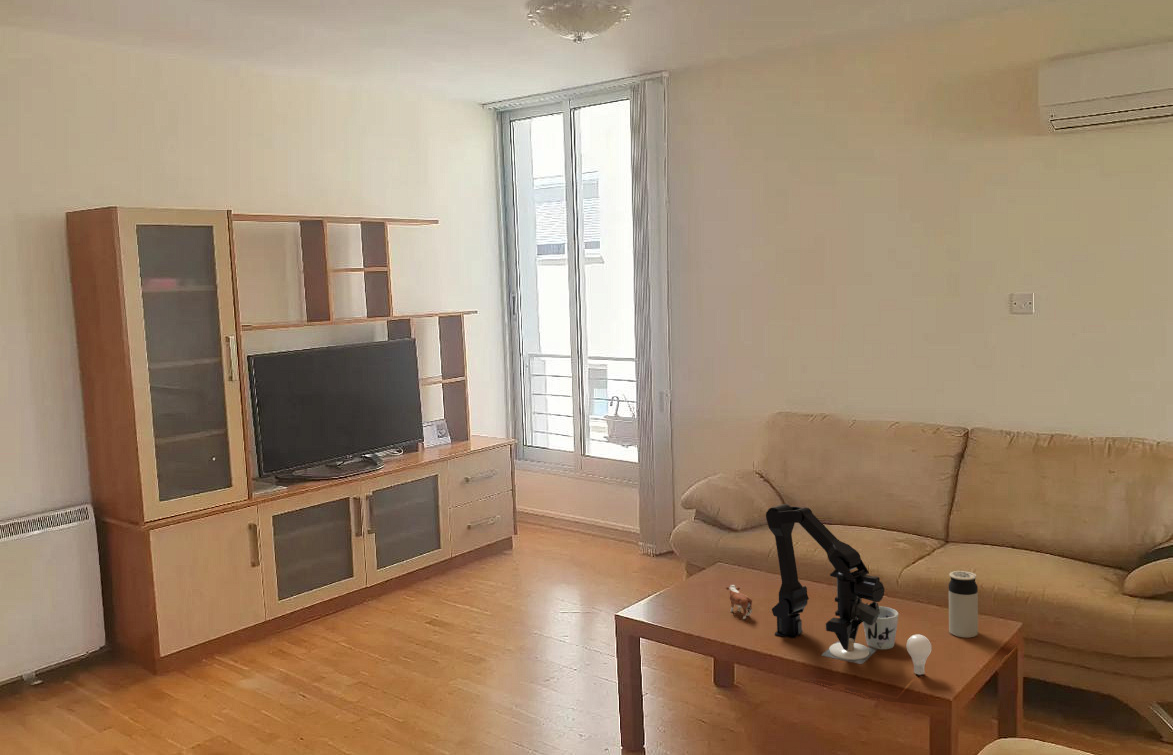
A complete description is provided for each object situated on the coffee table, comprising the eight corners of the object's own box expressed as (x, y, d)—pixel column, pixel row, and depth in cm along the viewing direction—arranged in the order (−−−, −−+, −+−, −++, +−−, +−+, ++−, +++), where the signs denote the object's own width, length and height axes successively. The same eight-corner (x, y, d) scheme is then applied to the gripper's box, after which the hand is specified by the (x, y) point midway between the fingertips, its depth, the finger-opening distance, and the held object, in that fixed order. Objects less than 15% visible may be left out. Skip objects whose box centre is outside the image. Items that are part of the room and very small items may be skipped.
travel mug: (954, 638, 270) (954, 579, 268) (945, 628, 278) (944, 570, 276) (982, 637, 269) (981, 578, 268) (971, 627, 277) (971, 569, 276)
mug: (862, 651, 264) (861, 617, 263) (860, 631, 279) (859, 600, 278) (900, 653, 262) (900, 619, 261) (896, 633, 276) (895, 601, 275)
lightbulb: (906, 678, 245) (905, 638, 244) (907, 668, 251) (906, 629, 250) (931, 680, 243) (931, 640, 242) (931, 671, 249) (931, 631, 248)
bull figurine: (735, 606, 306) (735, 582, 305) (755, 619, 293) (754, 594, 292) (723, 608, 304) (723, 584, 304) (743, 621, 292) (742, 596, 291)
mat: (821, 656, 262) (821, 655, 262) (837, 642, 271) (837, 641, 271) (862, 665, 255) (862, 664, 255) (877, 650, 264) (877, 649, 264)
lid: (823, 655, 262) (823, 642, 262) (838, 641, 271) (837, 629, 270) (861, 663, 255) (860, 650, 255) (875, 649, 264) (874, 636, 264)
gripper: (863, 608, 249) (864, 664, 251) (886, 588, 264) (888, 641, 265) (824, 602, 256) (825, 655, 257) (849, 582, 271) (850, 633, 272)
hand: (848, 646), depth 263 cm, fingers open, 5 cm apart
